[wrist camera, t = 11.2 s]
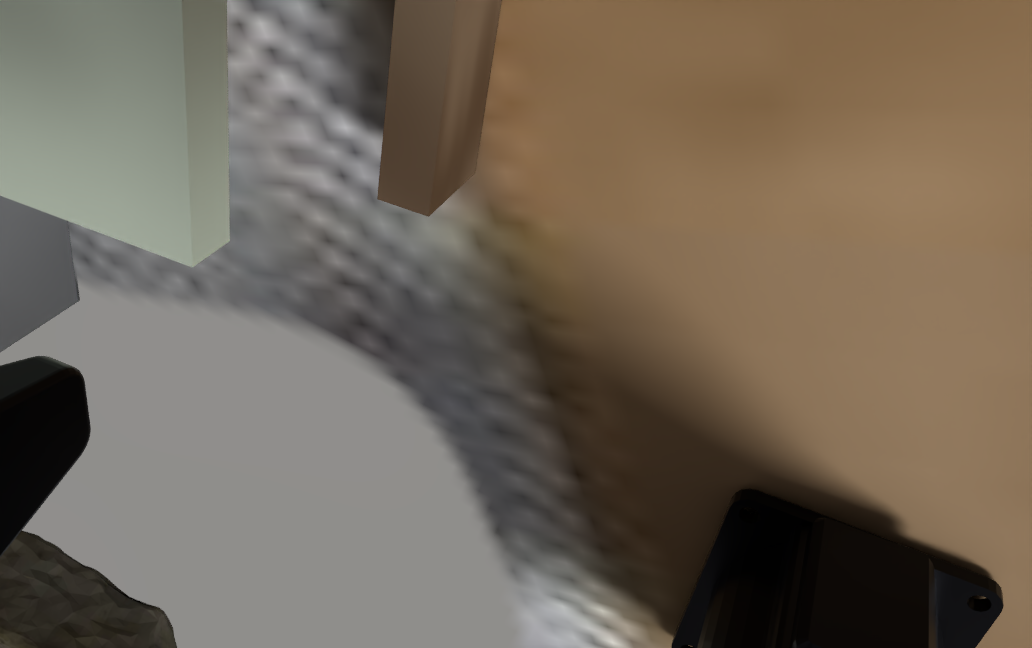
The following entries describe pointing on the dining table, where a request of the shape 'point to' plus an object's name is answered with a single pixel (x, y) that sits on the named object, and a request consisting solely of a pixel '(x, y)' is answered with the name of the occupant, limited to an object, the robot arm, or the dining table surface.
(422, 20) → the frame
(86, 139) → the trapdoor
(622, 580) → the dining table surface
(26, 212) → the gray cube
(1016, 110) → the dining table surface
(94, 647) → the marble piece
